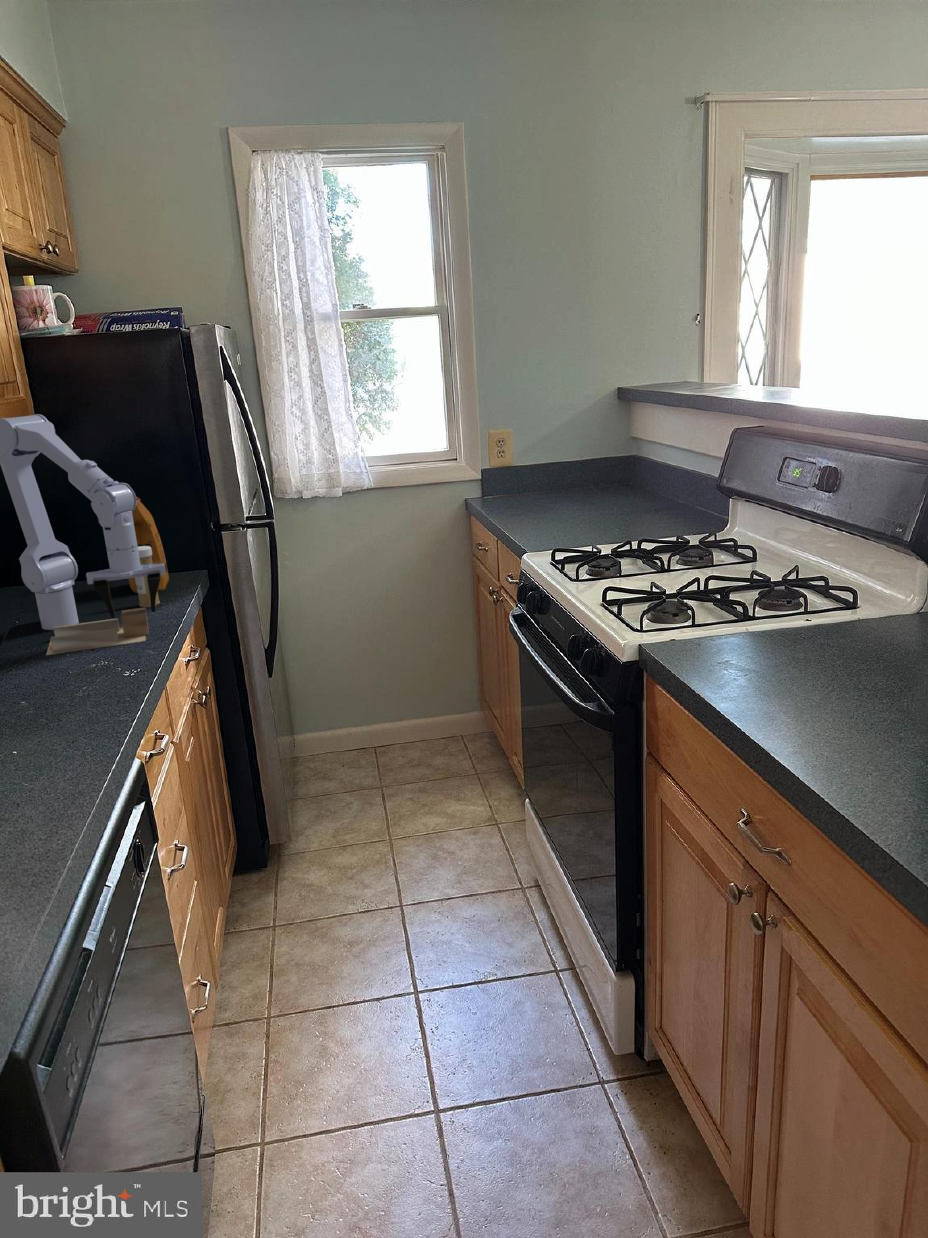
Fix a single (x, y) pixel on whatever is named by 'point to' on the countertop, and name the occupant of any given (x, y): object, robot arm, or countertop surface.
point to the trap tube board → (89, 636)
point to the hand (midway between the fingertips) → (133, 613)
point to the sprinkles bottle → (145, 578)
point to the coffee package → (148, 541)
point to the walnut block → (135, 622)
